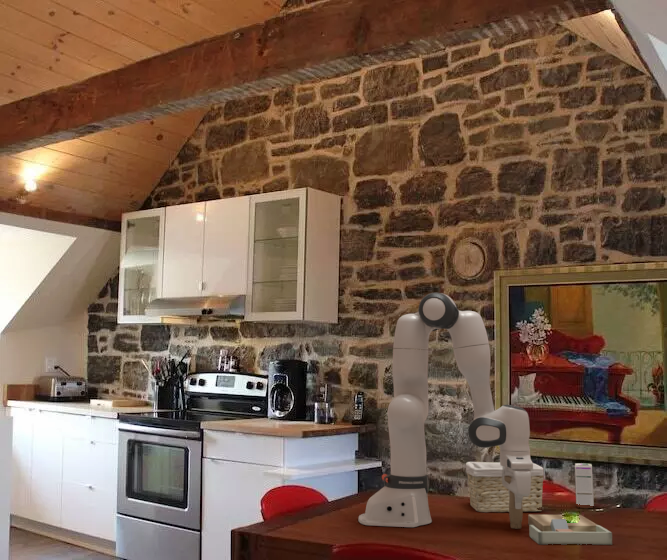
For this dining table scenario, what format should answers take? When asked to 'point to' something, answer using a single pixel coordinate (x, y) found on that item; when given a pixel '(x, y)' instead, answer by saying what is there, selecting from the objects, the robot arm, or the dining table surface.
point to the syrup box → (584, 484)
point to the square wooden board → (545, 520)
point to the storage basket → (499, 488)
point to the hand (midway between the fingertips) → (515, 507)
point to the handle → (514, 509)
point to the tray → (572, 537)
